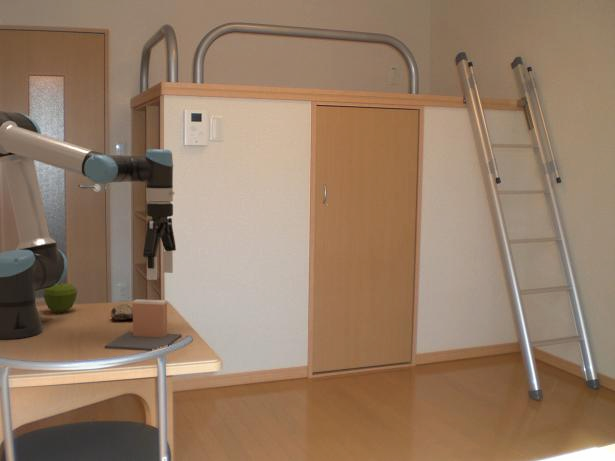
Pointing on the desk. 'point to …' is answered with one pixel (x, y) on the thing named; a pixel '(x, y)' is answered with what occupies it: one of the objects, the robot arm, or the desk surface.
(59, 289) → the apple
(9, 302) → the robot arm
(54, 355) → the desk surface
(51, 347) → the desk surface
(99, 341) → the desk surface
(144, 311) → the slab
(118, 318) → the rock
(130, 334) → the mat
